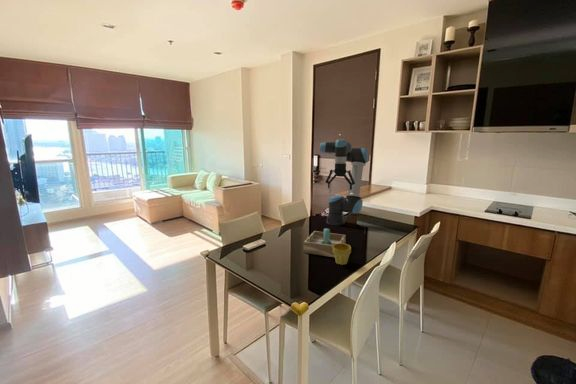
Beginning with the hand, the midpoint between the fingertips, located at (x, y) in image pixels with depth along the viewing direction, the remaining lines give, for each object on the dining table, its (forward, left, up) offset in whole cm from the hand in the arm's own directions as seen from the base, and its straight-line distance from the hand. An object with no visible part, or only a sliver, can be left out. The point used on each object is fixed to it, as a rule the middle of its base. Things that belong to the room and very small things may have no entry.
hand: (339, 193), depth 190 cm
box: (+21, -4, -33) cm, 39 cm away
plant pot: (+37, +10, -33) cm, 50 cm away
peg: (+18, -4, -33) cm, 37 cm away
